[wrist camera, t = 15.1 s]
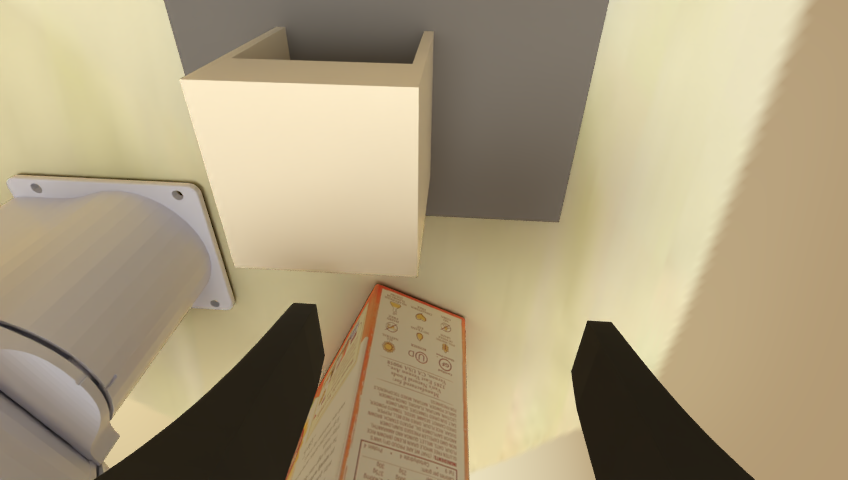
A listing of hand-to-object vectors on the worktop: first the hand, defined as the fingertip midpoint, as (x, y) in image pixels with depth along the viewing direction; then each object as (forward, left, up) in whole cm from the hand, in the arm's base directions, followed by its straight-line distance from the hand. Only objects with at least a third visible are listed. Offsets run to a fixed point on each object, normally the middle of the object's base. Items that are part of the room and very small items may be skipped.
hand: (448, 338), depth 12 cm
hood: (-4, +3, -9) cm, 11 cm away
